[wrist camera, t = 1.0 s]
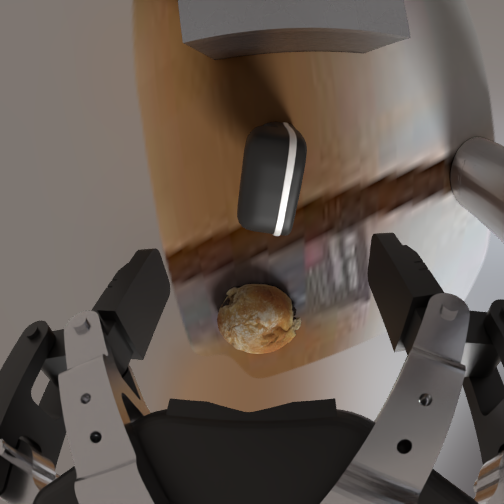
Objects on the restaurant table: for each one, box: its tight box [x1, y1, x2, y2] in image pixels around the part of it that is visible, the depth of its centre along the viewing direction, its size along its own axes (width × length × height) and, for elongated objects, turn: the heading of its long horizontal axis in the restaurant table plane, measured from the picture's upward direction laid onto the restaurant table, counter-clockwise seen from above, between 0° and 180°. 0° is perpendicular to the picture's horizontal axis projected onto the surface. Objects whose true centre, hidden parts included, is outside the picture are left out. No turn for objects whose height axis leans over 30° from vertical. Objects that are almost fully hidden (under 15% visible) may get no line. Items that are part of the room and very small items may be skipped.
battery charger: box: [237, 122, 307, 236], centre depth 21 cm, size 7×4×11 cm, turn 173°
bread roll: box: [217, 284, 301, 354], centre depth 35 cm, size 10×10×8 cm
